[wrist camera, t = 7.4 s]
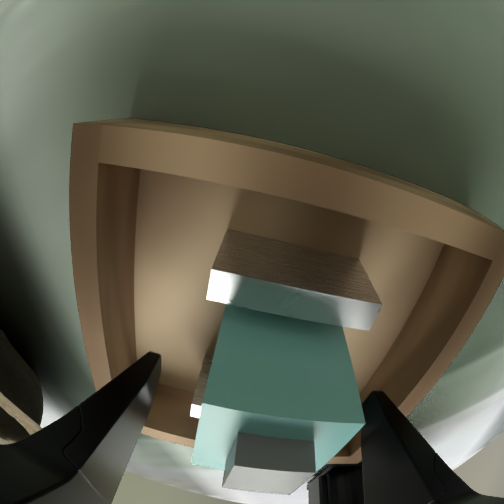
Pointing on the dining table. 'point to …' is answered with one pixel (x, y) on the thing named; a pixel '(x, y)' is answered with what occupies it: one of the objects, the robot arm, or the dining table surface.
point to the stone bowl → (17, 396)
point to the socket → (288, 286)
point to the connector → (276, 401)
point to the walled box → (271, 226)
